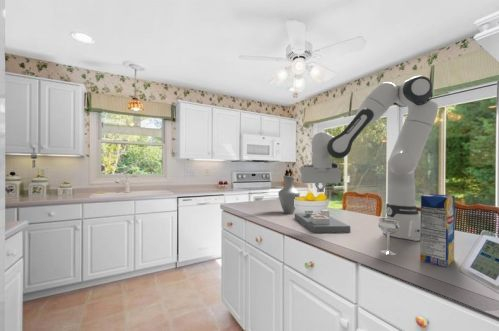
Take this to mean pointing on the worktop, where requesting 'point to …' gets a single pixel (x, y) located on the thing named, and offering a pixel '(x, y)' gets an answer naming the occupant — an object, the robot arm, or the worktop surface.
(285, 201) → the vase
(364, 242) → the worktop surface
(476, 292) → the worktop surface
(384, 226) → the wineglass
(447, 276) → the worktop surface
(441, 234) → the beverage box
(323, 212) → the paddle
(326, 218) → the panel
